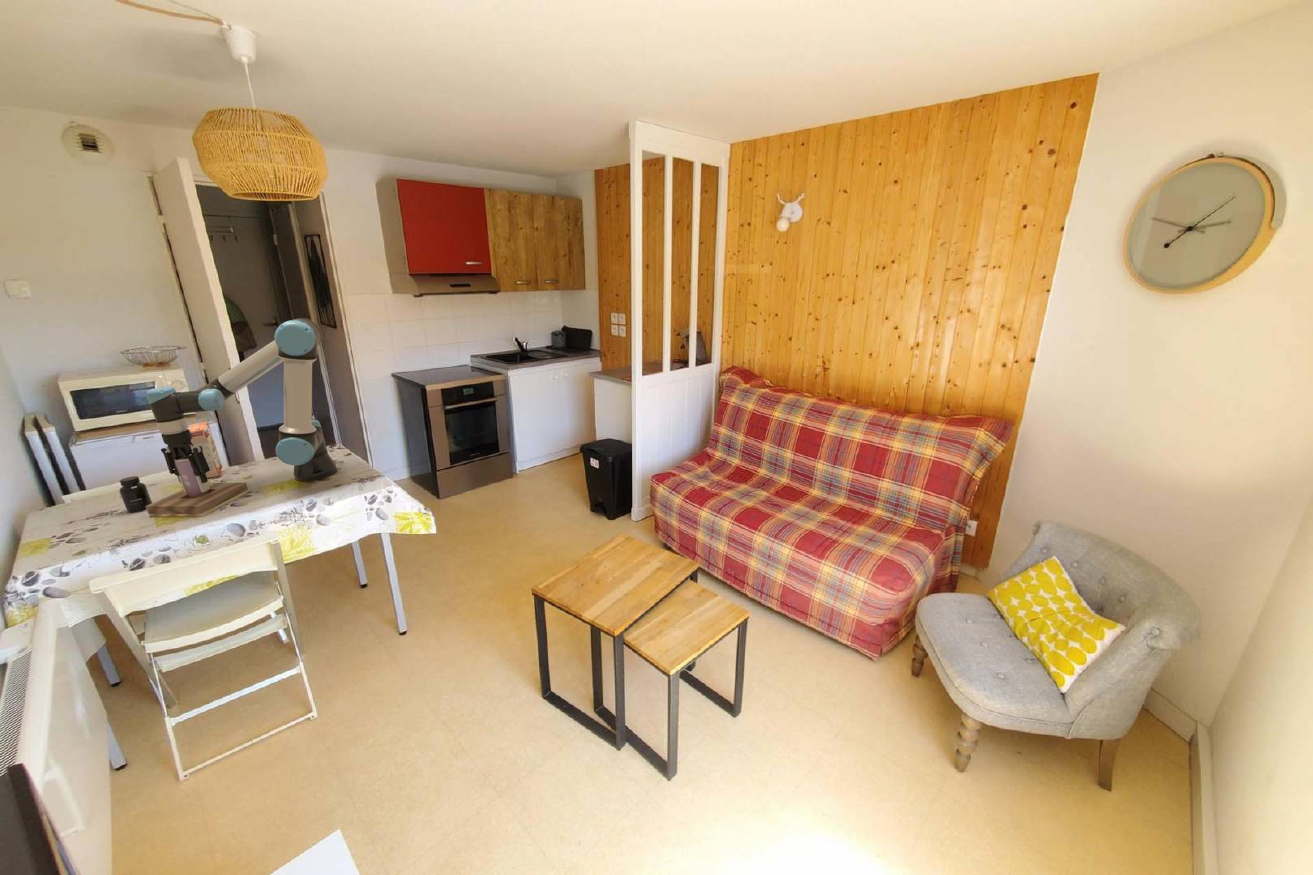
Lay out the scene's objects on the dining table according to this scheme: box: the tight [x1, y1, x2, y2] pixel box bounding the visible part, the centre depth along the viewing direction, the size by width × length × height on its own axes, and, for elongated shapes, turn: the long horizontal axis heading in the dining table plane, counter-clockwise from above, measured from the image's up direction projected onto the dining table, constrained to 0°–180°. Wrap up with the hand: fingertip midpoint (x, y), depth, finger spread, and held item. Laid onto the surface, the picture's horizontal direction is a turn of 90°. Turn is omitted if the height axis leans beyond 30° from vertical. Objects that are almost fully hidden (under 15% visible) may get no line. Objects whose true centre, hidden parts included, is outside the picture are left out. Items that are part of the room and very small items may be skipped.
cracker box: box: [188, 422, 223, 479], centre depth 212 cm, size 14×6×21 cm, turn 36°
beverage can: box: [175, 455, 209, 498], centre depth 183 cm, size 6×6×15 cm
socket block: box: [145, 481, 250, 518], centre depth 186 cm, size 20×20×4 cm
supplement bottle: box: [119, 475, 153, 513], centre depth 182 cm, size 7×7×12 cm
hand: (197, 490), depth 185 cm, fingers closed on beverage can, 6 cm apart
